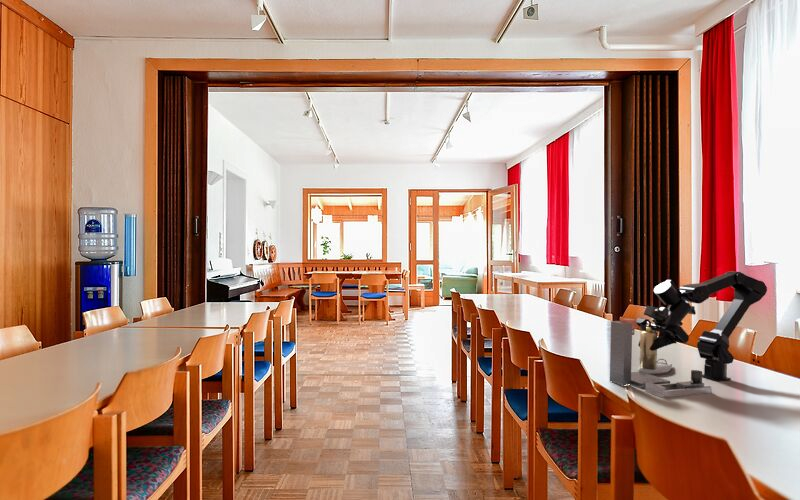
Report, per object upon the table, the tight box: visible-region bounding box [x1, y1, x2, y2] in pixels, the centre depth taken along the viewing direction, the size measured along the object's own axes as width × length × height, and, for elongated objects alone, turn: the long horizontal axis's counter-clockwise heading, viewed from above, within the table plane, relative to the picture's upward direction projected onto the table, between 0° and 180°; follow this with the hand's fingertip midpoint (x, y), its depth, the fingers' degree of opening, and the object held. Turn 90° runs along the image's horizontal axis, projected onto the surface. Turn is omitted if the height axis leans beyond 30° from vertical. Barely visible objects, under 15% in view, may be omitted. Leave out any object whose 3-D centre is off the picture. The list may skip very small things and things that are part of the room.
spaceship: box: [637, 358, 673, 375], centre depth 171 cm, size 23×7×4 cm, turn 125°
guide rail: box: [644, 382, 713, 399], centre depth 146 cm, size 20×6×3 cm, turn 108°
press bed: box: [609, 317, 671, 389], centre depth 156 cm, size 16×12×21 cm
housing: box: [639, 327, 658, 370], centre depth 157 cm, size 5×5×14 cm
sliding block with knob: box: [675, 369, 705, 390], centre depth 148 cm, size 8×3×6 cm, turn 108°
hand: (645, 348), depth 157 cm, fingers closed on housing, 5 cm apart
